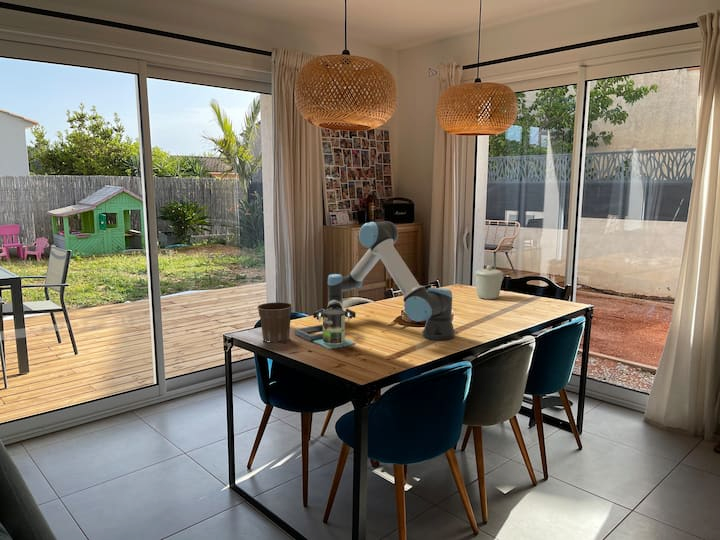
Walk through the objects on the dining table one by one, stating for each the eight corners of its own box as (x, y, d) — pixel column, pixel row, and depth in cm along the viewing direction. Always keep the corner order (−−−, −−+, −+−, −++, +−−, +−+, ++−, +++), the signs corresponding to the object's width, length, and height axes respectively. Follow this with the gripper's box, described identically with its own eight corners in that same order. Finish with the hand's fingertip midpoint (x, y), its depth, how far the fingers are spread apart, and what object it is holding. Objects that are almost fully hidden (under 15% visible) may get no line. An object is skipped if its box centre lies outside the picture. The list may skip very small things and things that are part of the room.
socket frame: (321, 329, 270) (321, 324, 269) (338, 336, 257) (338, 331, 257) (294, 334, 261) (294, 329, 261) (310, 341, 249) (310, 336, 248)
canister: (473, 294, 355) (474, 263, 352) (501, 295, 352) (502, 263, 349) (474, 300, 338) (475, 267, 334) (503, 301, 335) (505, 267, 331)
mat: (338, 337, 256) (338, 336, 256) (355, 344, 245) (355, 342, 245) (313, 342, 248) (313, 340, 248) (329, 349, 237) (329, 348, 237)
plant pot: (253, 343, 246) (252, 309, 243) (264, 334, 262) (263, 301, 259) (288, 345, 244) (287, 310, 241) (297, 335, 259) (296, 302, 257)
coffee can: (333, 346, 239) (333, 315, 237) (318, 341, 246) (317, 311, 244) (350, 341, 246) (349, 311, 244) (334, 337, 254) (334, 308, 251)
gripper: (359, 315, 273) (360, 326, 252) (310, 316, 273) (307, 326, 252) (359, 301, 272) (360, 310, 251) (310, 301, 272) (307, 311, 251)
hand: (334, 318), depth 252 cm, fingers open, 13 cm apart
